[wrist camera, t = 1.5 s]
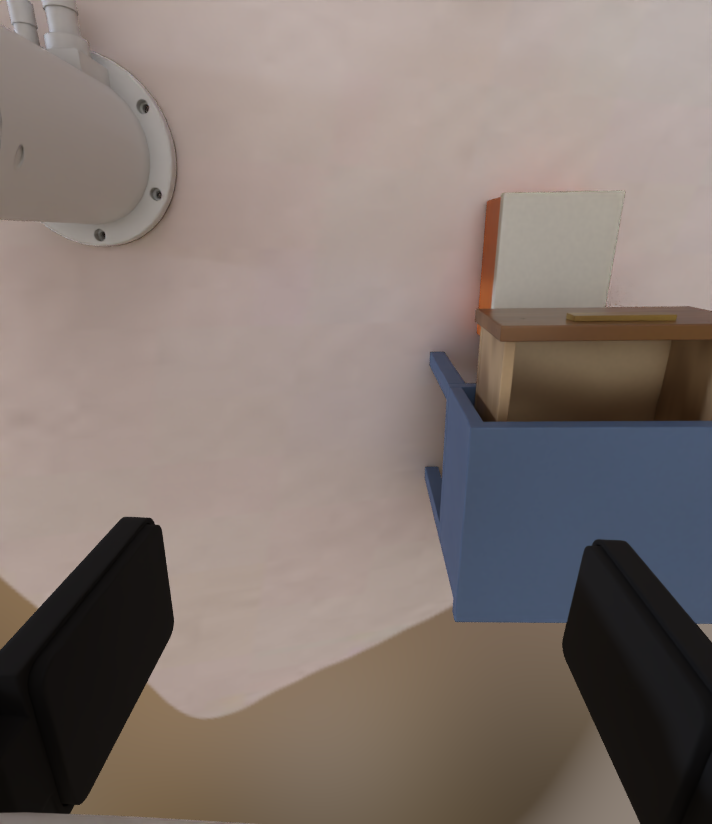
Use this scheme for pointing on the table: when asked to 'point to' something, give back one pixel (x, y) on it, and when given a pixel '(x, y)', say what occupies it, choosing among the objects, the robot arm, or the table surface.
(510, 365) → the drawer
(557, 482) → the drawer unit
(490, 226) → the storage box
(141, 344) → the table surface
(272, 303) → the table surface
